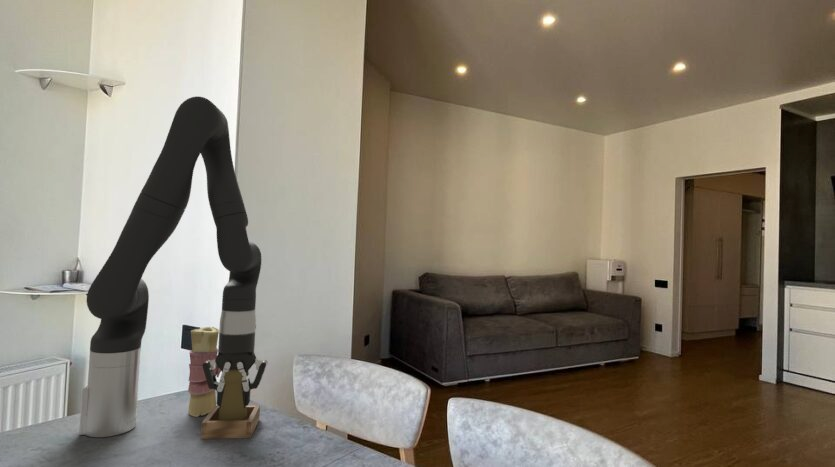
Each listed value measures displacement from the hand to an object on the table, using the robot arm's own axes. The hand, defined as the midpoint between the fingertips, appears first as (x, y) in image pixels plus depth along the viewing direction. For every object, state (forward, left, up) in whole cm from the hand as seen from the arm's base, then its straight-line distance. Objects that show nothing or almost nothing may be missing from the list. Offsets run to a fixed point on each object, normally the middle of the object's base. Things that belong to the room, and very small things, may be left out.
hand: (233, 406), depth 100 cm
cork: (0, 0, -2) cm, 2 cm away
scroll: (-9, +11, -5) cm, 15 cm away
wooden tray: (0, 0, -5) cm, 5 cm away
